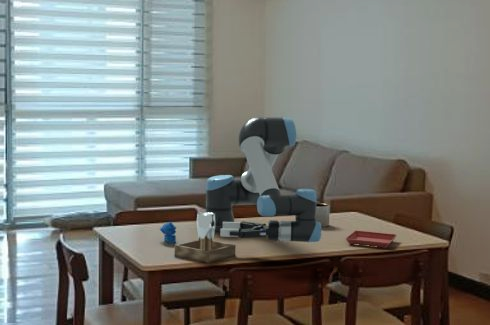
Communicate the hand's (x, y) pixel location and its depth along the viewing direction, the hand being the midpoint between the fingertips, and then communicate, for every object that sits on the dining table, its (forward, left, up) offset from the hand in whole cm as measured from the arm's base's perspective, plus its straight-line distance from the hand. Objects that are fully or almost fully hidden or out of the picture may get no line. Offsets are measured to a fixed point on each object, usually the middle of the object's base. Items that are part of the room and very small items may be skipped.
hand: (221, 228), depth 280 cm
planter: (-7, +80, -11) cm, 81 cm away
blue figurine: (-31, +6, -11) cm, 33 cm away
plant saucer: (+30, +62, -11) cm, 70 cm away
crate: (-5, -3, -10) cm, 12 cm away
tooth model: (-5, -3, -10) cm, 11 cm away
